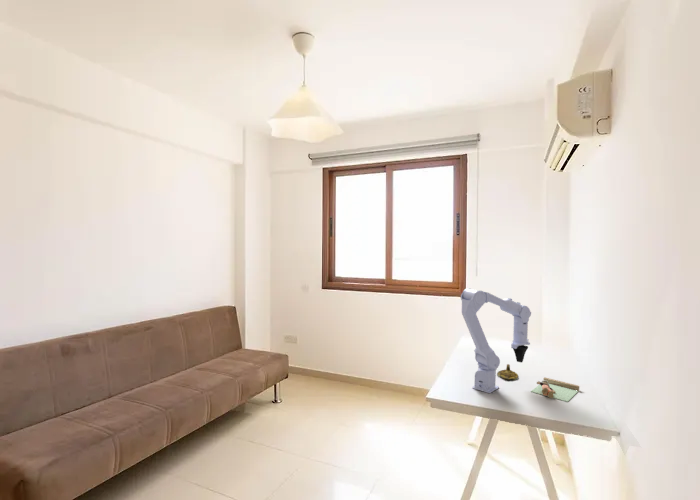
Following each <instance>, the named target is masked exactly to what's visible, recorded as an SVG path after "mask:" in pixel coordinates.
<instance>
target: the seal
mask: <svg viewBox="0 0 700 500" xmlns="http://www.w3.org/2000/svg"><path fill="white" fill-rule="evenodd" d="M496 376H497V377H498V378H500V379H502V380H503V381H506V382H507V381H511V382H514V381H517V380H519V374H518V373H517V372H515V371H513V370H511V365H510V364H509V363H507V364H506V368H505V369H502V370H499V371H498V372H496Z"/></svg>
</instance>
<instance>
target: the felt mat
mask: <svg viewBox="0 0 700 500" xmlns="http://www.w3.org/2000/svg"><path fill="white" fill-rule="evenodd" d="M549 386H550V388H552V389H553V390H554V391H555V392H556V393H553V398H552V399H556V400H559V401H563V402H565V403H568V402H569V401H571V399H572V398H573V397H575V396H576V394H578V393H579V391H576V390H572V389H569V388H565V387H561V386H557V385H553V384H549ZM542 390H543V389H542V386H541V385H540V384H537V386H536V387H534V388H533V389H532V390H530V392H531V393H534V394H537V395H540V396H544V397H547V398H549V397H548V395H547V396H545V395H543V393H542Z"/></svg>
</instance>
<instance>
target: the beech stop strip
mask: <svg viewBox="0 0 700 500" xmlns="http://www.w3.org/2000/svg"><path fill="white" fill-rule="evenodd" d="M544 380H546V381H548V383H549V384H553V385H557V386H561V387H565V388H569V389H572V390H577V391H578V392H579V391H580V385H579V384H578V385H577V384H574V383H570V382H565V381H561V380H558V379H554V378H550V377H543V380H542V381H544Z"/></svg>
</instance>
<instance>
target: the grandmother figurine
mask: <svg viewBox="0 0 700 500" xmlns="http://www.w3.org/2000/svg"><path fill="white" fill-rule="evenodd" d="M543 380H544V379H543ZM543 380H541V381H539V380H538V381H536V384H537V385H541V386H542V389H543V390H542V393H543V395H542V396H544V395H545V396H544V397H547V395H548V397H547V398H549V399H550V398H551V399H554V398H553V393H556V392H555V391H554V390H553V389H552V388H550V386H549V383H548V381H546V380H544V381H543Z"/></svg>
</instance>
